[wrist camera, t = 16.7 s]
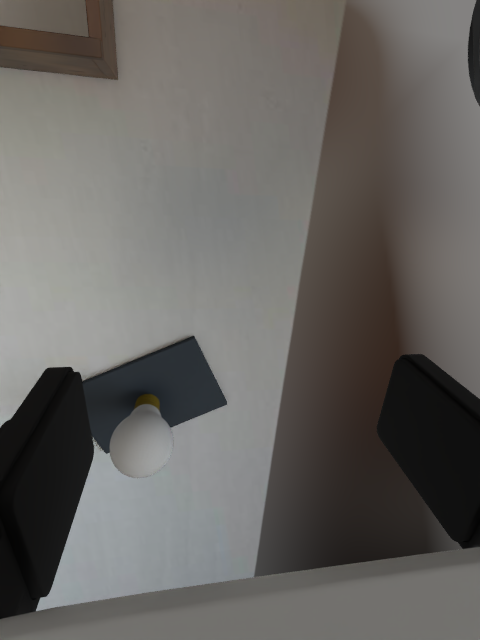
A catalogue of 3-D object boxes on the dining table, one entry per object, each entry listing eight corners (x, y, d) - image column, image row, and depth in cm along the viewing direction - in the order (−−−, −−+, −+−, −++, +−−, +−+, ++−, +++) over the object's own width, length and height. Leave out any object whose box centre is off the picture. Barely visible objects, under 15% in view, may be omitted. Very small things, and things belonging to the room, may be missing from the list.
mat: (193, 335, 37) (194, 338, 36) (226, 401, 41) (227, 404, 40) (60, 390, 37) (58, 393, 36) (107, 450, 41) (106, 454, 40)
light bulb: (168, 372, 37) (164, 436, 28) (179, 413, 40) (179, 483, 31) (114, 383, 37) (94, 452, 28) (129, 424, 39) (115, 499, 30)
